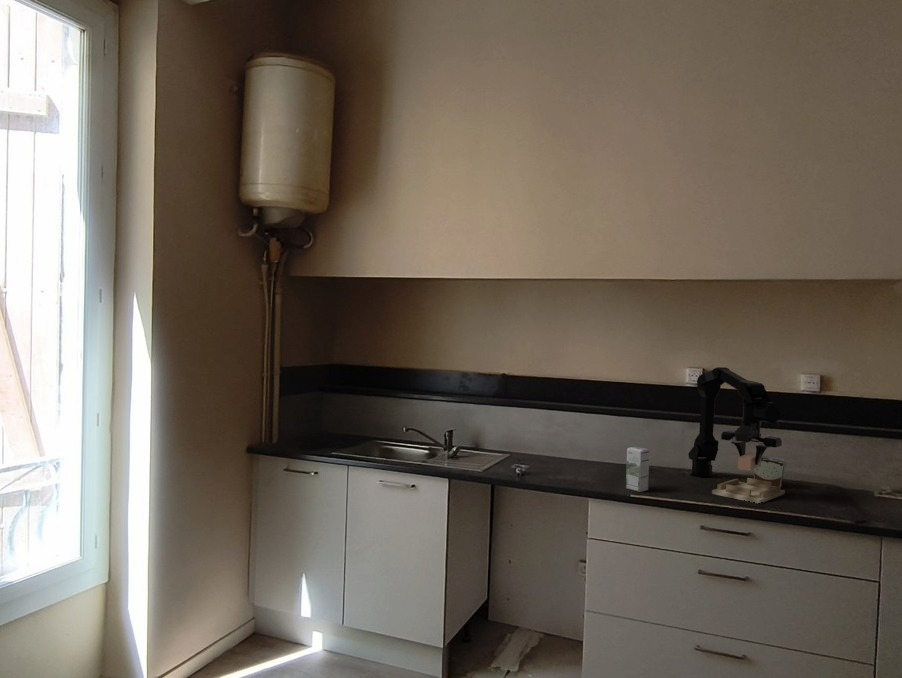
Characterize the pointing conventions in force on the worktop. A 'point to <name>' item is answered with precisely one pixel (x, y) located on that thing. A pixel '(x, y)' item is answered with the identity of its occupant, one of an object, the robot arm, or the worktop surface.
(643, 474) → the syrup box
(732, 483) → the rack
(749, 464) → the pinkish brown block
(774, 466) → the food container
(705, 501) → the worktop surface
